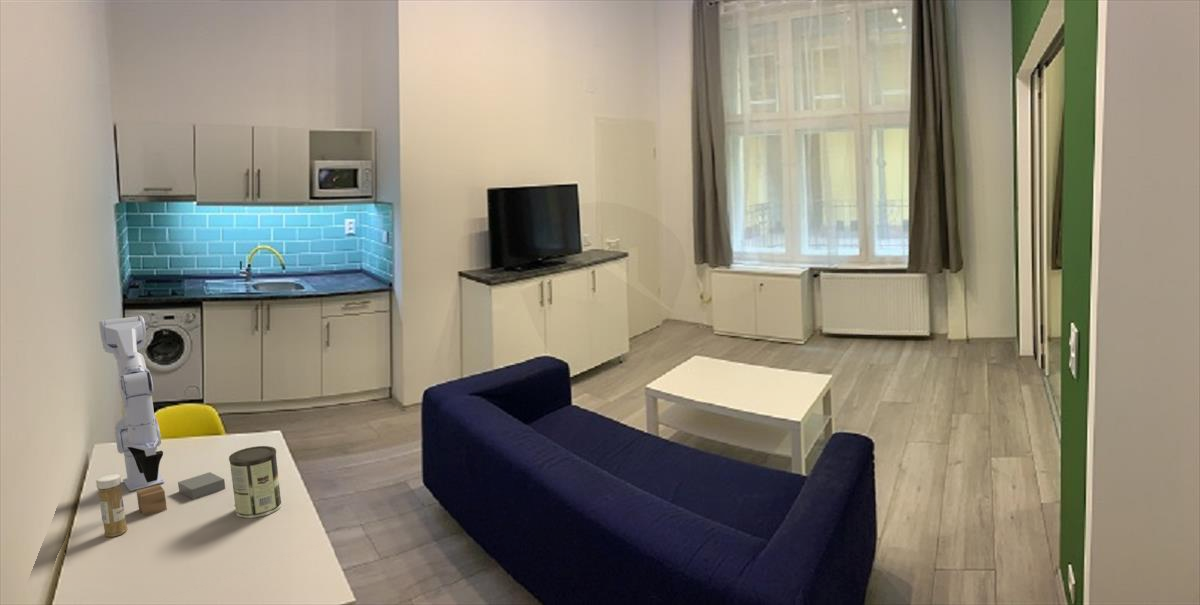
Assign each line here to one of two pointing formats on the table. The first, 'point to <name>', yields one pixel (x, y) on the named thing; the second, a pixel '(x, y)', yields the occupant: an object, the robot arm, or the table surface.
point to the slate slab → (201, 485)
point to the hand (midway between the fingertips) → (148, 476)
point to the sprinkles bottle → (111, 504)
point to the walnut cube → (151, 500)
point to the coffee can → (255, 481)
